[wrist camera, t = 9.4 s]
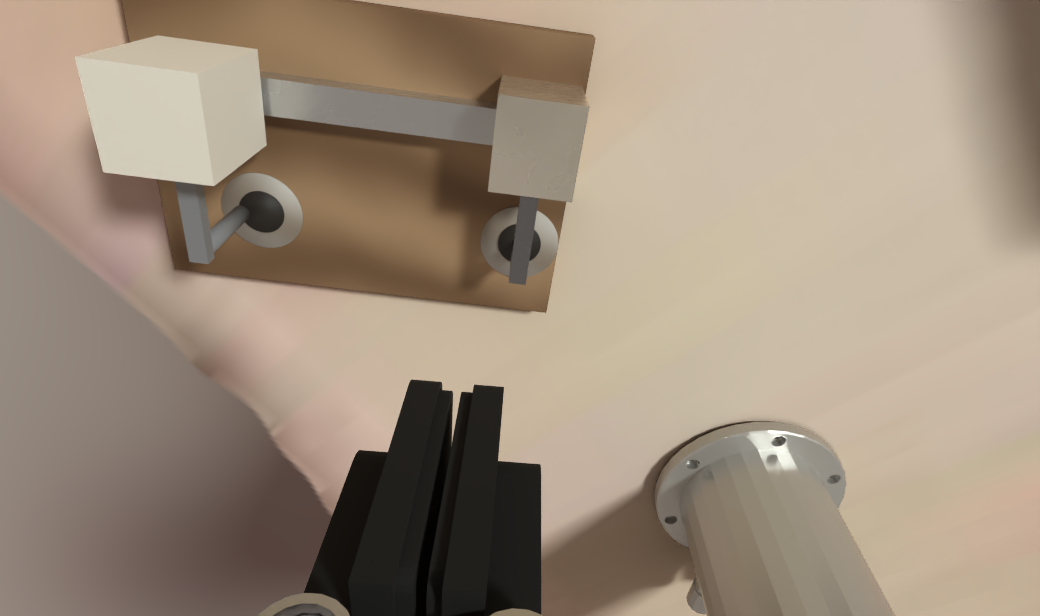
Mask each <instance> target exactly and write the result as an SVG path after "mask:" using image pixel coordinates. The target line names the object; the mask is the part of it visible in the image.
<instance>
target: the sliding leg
mask: <svg viewBox="0 0 1040 616" xmlns="http://www.w3.org/2000/svg"><path fill="white" fill-rule="evenodd" d="M75 60H76V64H77V68H78V72H79V76H80V80H81V84H82V88H83V92H84V96H85V101H86V105H87V109H88V113H89V117H90V121H91V125H92V129H93V133H94V137H95V141H96V145H97V149H98V153H99V157H100V161H101V165H102V169H103V172H104V173H112V174H120V175H128V176H136V177H144V178H152V179H160V180H168V181H175V185H176V191H177V196H178V202H179V207H180V213H181V218H182V224H183V229H184V234H185V240H186V245H187V251H188V256H189V262H194V263H203V264H209V263H210V262H211V261H212V260H213V259H214V258H215V257H214V252H215V251H216V250H217V249H218V248H219V247H220V246H221V245H222V244H223V243H224V242H225V241H226V240H227V239H228V238H229V237H230V236H231V235H232V234H233V233H235V232H236V231H237V230H238V229H239V228H240V227H241V226H242V225H243V224H244V223H245V222H246V221H247V220H248V219H249V217H250V212H249V210H248V209H247V208H246V207H244V206H241V205H238V206H236V207H235V208H233V209H232V210H231V211H230V212H229V213H228V214H227V215H226V216H225V217H224V218H222V219H221V220H220V221H219V222H218V223H217V224H216V225H215V226H214V227H213V228H211V229H210V225H209V219H208V212H207V206H206V200H205V193H204V187H203V185H208V186H215V185H216V184H218V183H219V182H220V181H221V180H223V179H224V178H225V177H227V176H228V175H229V174H230V173H232V172H233V171H234V170H236V169H237V168H238V167H239V166H241V165H242V164H243V163H245V162H246V161H247V160H248V159H250V158H251V157H252V156H254V155H255V154H256V153H257V152H259V151H260V150H261V149H262V148H264V147H265V146H266V145H267V142H266V132H265V122H264V111H263V101H262V90H261V80H260V69H259V59H258V49H253V48H245V47H238V46H231V45H224V44H216V43H209V42H202V41H195V40H188V39H180V38H173V37H166V36H159V35H157V36H153V37H150V38H146V39H142V40H138V41H134V42H130V43H126V44H122V45H119V46H115V47H111V48H107V49H103V50H99V51H95V52H91V53H88V54H84V55H80V56H76V57H75Z"/></svg>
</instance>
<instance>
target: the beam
mask: <svg viewBox="0 0 1040 616" xmlns="http://www.w3.org/2000/svg"><path fill="white" fill-rule="evenodd" d="M260 80H261V90H262V101H263V111H264V115H266V116H274V117H281V118H289V119H296V120H304V121H312V122H319V123H327V124H334V125H342V126H349V127H357V128H364V129H372V130H380V131H387V132H395V133H402V134H410V135H417V136H425V137H433V138H440V139H448V140H455V141H463V142H470V143H478V144H485V145H493V147H492V157H491V166H490V176H489V185H488V192H495V193H503V194H510V195H518V196H520V199H519V206H518V214H517V221H516V229H515V236H514V240H513V241H512V245H511V261H510V273H509V283H513V284H521V285H526V279H527V272H528V266H529V259H530V253H531V246H532V240H533V233H534V227H535V220H536V214H537V207H538V201H539V198H542V199H549V200H557V201H565V202H572V198H573V193H574V187H575V182H576V176H577V171H578V166H579V160H580V155H581V149H582V144H583V139H584V133H585V128H586V122H587V117H588V112H589V104H588V101H587V99H586V96H585V93H584V90H583V87H582V86H575V85H568V84H561V83H553V82H546V81H539V80H532V79H525V78H517V77H510V76H503V75H502V78H501V83H500V88H499V92H498V100H497V103H495V102H488V101H480V100H473V99H466V98H458V97H451V96H444V95H436V94H429V93H422V92H414V91H407V90H400V89H392V88H385V87H378V86H370V85H363V84H356V83H348V82H341V81H334V80H326V79H319V78H311V77H304V76H297V75H289V74H282V73H275V72H267V71H260Z"/></svg>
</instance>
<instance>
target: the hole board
mask: <svg viewBox="0 0 1040 616" xmlns="http://www.w3.org/2000/svg"><path fill="white" fill-rule="evenodd" d="M121 1H122V6H123V11H124V16H125V21H126V26H127V31H128V36H129V41H130V42H134V41H138V40H142V39H146V38H150V37H153V36H157V35H159V36H166V37H173V38H180V39H188V40H195V41H202V42H209V43H216V44H224V45H231V46H238V47H245V48H253V49H258V59H259V69H260V71H267V72H275V73H282V74H289V75H297V76H304V77H311V78H319V79H326V80H334V81H341V82H348V83H356V84H363V85H370V86H378V87H385V88H392V89H400V90H407V91H414V92H422V93H429V94H436V95H444V96H451V97H458V98H466V99H473V100H480V101H488V102H495V103H497V100H498V92H499V88H500V83H501V78H502V75H503V76H510V77H517V78H525V79H532V80H539V81H546V82H553V83H561V84H568V85H575V86H582V87H583V90H584V93H585V94H586V88H587V82H588V77H589V71H590V66H591V60H592V55H593V49H594V44H595V37H594V36H593V35H590V34H583V33H576V32H569V31H562V30H555V29H548V28H541V27H534V26H527V25H520V24H513V23H506V22H500V21H493V20H486V19H479V18H472V17H465V16H458V15H451V14H444V13H437V12H430V11H423V10H416V9H409V8H402V7H395V6H388V5H381V4H374V3H367V2H360V1H353V0H121ZM264 122H265V132H266V142H267V145H266V146H265V147H264V148H262V149H261V150H260V151H259V152H257V153H256V154H255V155H254V156H252V157H251V158H250V159H248V160H247V161H246V162H245V163H243V164H242V165H241V166H239V167H238V168H237V169H236V170H234V171H233V172H232V173H230V174H229V175H228V176H227V177H225V178H224V179H223V180H221V181H220V182H219V183H218V184H216V185H215V186H208V185H203V187H204V193H205V200H206V206H207V212H208V219H209V225H210V229H211V228H213V227H214V226H215V225H216V224H217V223H218V222H219V221H220V220H221V219H222V218H224V217H225V216H226V215H227V214H228V213H229V212H230V211H231V210H232V209H233V208H235V207H236V206H238V205H241V206H244V207H246V208H247V209H248V210H249V212H250V217H249V219H248V220H247V221H246V222H245V223H244V224H243V225H242V226H241V227H240V228H239V229H238V230H237V231H236V232H235V233H233V234H232V235H231V236H230V237H229V238H228V239H227V240H226V241H225V242H224V243H223V244H222V245H221V246H220V247H219V248H218V249H217V250H216V251H215V252H214V257H215V258H214V259H213V260H212V261H211V262H210V263H209V264H203V263H194V262H189V256H188V251H187V245H186V240H185V234H184V229H183V224H182V218H181V213H180V207H179V202H178V196H177V191H176V185H175V181H168V180H160V179H157V181H158V186H159V191H160V196H161V201H162V206H163V211H164V216H165V221H166V226H167V231H168V236H169V241H170V246H171V251H172V256H173V261H174V266H175V269H179V270H188V271H196V272H205V273H213V274H222V275H230V276H239V277H247V278H256V279H264V280H273V281H281V282H290V283H298V284H307V285H315V286H324V287H332V288H341V289H349V290H358V291H366V292H375V293H383V294H392V295H400V296H409V297H417V298H426V299H434V300H443V301H451V302H460V303H468V304H477V305H485V306H494V307H502V308H511V309H520V310H528V311H537V312H545V313H546V310H547V305H548V299H549V294H550V288H551V283H552V277H553V272H554V266H555V260H556V255H557V250H558V244H559V238H560V233H561V227H562V221H563V216H564V210H565V205H566V202H565V201H557V200H549V199H542V198H539V201H538V207H537V214H536V220H535V227H534V233H533V240H532V246H531V253H530V259H529V266H528V272H527V279H526V285H521V284H513V283H509V273H510V261H511V245H512V241H513V240H514V236H515V229H516V221H517V214H518V206H519V199H520V196H518V195H510V194H503V193H495V192H488V185H489V176H490V166H491V157H492V147H493V145H485V144H478V143H470V142H463V141H455V140H448V139H440V138H433V137H425V136H417V135H410V134H402V133H395V132H387V131H380V130H372V129H364V128H357V127H349V126H342V125H334V124H327V123H319V122H312V121H304V120H296V119H289V118H281V117H274V116H266V115H264Z"/></svg>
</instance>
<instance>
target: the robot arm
mask: <svg viewBox="0 0 1040 616" xmlns="http://www.w3.org/2000/svg"><path fill="white" fill-rule="evenodd" d="M503 392H504V387H496V386H483V385H474V388H473V393H470V392H462V393H461V397H460V403H459V408H458V414H457V419H456V425H455V430H454V436H453V441H452V407H453V392H452V391H445V390H442V383H441V382H434V381H421V380H411V381H410V383H409V386H408V389H407V392H406V395H405V399H404V402H403V405H402V408H401V412H400V415H399V418H398V421H397V425H396V428H395V431H394V434H393V438H392V441H391V444H390V447H389V451H388V452H375V451H363V450H359V451H358V452H357V453H356V455H355V458H354V460H353V462H352V465H351V467H350V470H349V473H348V476H347V478H346V481H345V484H344V486H343V489H342V492H341V494H340V497H339V500H338V502H337V505H336V508H335V510H334V513H333V516H332V519H331V521H330V524H329V527H328V530H327V532H326V535H325V537H324V540H323V543H322V545H321V548H320V551H319V554H318V556H317V559H316V562H315V564H314V567H313V570H312V573H311V575H310V578H309V581H308V583H307V586H306V588H305V591H304V593H303V594H298V595H293V596H289V597H286V598H284V599H282V600H280V601H278V602H276V603H274V604H272V605H270V606H269V607H268V608H267V609H265V610H264V611H263V612H262V613H260V614H259V615H258V616H543V615H541V466H540V464H527V463H515V462H502V461H498V453H499V441H500V428H501V416H502V404H503ZM451 444H452V447H451ZM845 488H846V477H845V471H844V469H843V466H842V464H841V462H840V460H839V458H838V457H837V455H836V454H835V452H834V451H833V449H832V448H831V446H830V445H829V444H828V443H826V442H825V441H824V440H823V439H822V438H821V437H819V436H818V435H816V434H814V433H812V432H810V431H809V430H806V429H803V428H800V427H797V426H794V425H791V424H784V423H777V422H751V423H744V424H736V425H732V426H729V427H725V428H721V429H718V430H715V431H713V432H711V433H708V434H706V435H704V436H701V437H699V438H698V439H696V440H694V441H693V442H691V443H689V444H688V445H686V446H685V447H683V448H682V449H681V450H680V451H679V452H678V453H676V454H675V455H674V456H673V457H672V458H671V459H670V461H669V462H668V463H667V464H666V465H665V467H664V468H663V470H662V472H661V474H660V476H659V478H658V480H657V483H656V487H655V492H654V496H655V506H656V510H657V514H658V519H659V521H660V523H661V525H662V526H663V528H664V530H665V531H666V532H667V533H668V534H669V535H670V536H671V537H672V538H673V539H674V540H676V541H677V542H679V543H680V544H681V545H683V546H685V547H687V548H689V549H690V553H691V557H692V561H693V564H694V568H695V575H696V578H695V579H694V581H693V583H692V585H691V587H690V589H689V592H688V594H687V597H686V598H687V602H688V605H689V606H690V607H691V609H692V610H694V611H696V612H697V613H700V614H707V616H895V614H894V612H893V611H892V609H891V607H890V605H889V603H888V601H887V599H886V598H885V596H884V594H883V592H882V590H881V588H880V586H879V585H878V583H877V581H876V579H875V577H874V575H873V573H872V572H871V570H870V568H869V566H868V564H867V562H866V560H865V559H864V557H863V555H862V553H861V551H860V549H859V548H858V546H857V544H856V542H855V540H854V538H853V536H852V535H851V533H850V531H849V529H848V527H847V525H846V523H845V522H844V520H843V518H842V516H841V514H840V512H839V510H838V508H839V506H840V504H841V502H842V500H843V497H844V494H845Z"/></svg>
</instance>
